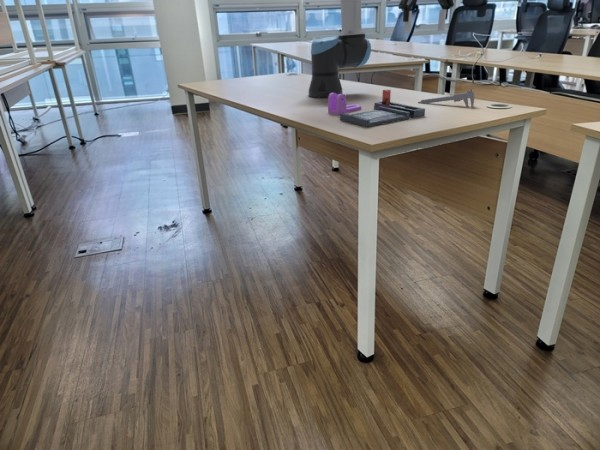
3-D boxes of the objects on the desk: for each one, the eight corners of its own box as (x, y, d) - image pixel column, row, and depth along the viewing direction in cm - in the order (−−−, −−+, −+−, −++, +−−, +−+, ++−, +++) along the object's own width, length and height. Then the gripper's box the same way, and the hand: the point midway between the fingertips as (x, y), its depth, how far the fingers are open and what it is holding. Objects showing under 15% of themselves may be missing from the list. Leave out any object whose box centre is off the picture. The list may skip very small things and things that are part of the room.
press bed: (339, 120, 142) (339, 113, 141) (380, 112, 150) (381, 106, 149) (366, 127, 131) (366, 120, 130) (409, 118, 139) (409, 112, 138)
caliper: (473, 107, 153) (475, 89, 150) (472, 107, 152) (475, 89, 150) (418, 103, 164) (420, 86, 161) (417, 103, 163) (419, 86, 160)
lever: (380, 107, 154) (380, 90, 151) (386, 106, 155) (386, 89, 152) (399, 111, 146) (400, 93, 143) (405, 110, 147) (406, 92, 145)
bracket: (338, 115, 150) (338, 94, 147) (328, 113, 154) (327, 93, 151) (364, 109, 157) (364, 90, 154) (353, 107, 161) (354, 88, 158)
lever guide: (374, 109, 155) (374, 102, 154) (384, 107, 157) (384, 100, 156) (413, 118, 140) (414, 110, 139) (424, 115, 142) (425, 108, 141)
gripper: (403, -43, 128) (398, 33, 138) (470, -43, 135) (461, 29, 145) (390, -40, 134) (386, 33, 144) (455, -40, 142) (447, 29, 151)
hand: (424, 31), depth 144 cm, fingers open, 13 cm apart
